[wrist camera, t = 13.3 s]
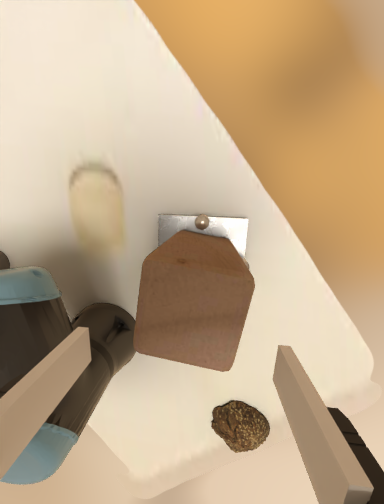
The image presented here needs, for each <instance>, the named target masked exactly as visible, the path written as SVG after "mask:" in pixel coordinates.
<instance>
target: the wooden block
mask: <svg viewBox="0 0 384 504" xmlns="http://www.w3.org/2000/svg"><path fill="white" fill-rule="evenodd" d="M254 288H255V283H254V278H253V276H252V274H251V273H250V271H249V269H248V268H247V266H246V265H245V263H244V261H243V260H242V258H241V256H240V255H239V253H238V251H237V250H236V248H235V247H234V245H233V243H232V242H231V241H230V240H229V239H226V238H221V237H216V236H210V235H205V234H200V233H195V232H190V231H184V230H182V231H178V232H177V233H176V234H174V235H173V236H172V237H171V238H169V239H168V240H167V241H166V242H164V243H163V244H162V245H161V246H159V247H158V248H157V249H156V250H154V251H153V252H152V253H151V254H149V255H148V256H147V257H146V259H145V260H144V262H143V264H142V272H141V281H140V289H139V297H138V305H137V313H136V321H135V330H134V338H133V346H134V350H136V351H137V352H139V353H141V354H145V355H150V356H154V357H159V358H163V359H168V360H172V361H177V362H181V363H186V364H190V365H195V366H199V367H204V368H208V369H213V370H217V371H222V372H224V371H229V370H230V369H231V367H232V365H233V363H234V359H235V356H236V352H237V349H238V345H239V342H240V338H241V334H242V331H243V327H244V324H245V320H246V316H247V313H248V309H249V306H250V302H251V299H252V295H253V291H254Z"/></svg>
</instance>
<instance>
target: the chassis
mask: <svg viewBox="0 0 384 504" xmlns="http://www.w3.org/2000/svg"><path fill="white" fill-rule="evenodd" d="M248 220H249V219H247V218H229V217H209V216H206V215H204V214H201V215H199V216H189V215H168V214H159V246H161V245H162V244H163V243H164V242H166V241H167V240H168V239H169V238H171V237H172V236H173V235H174V234H176V233H177V232H178V231H182V230H184V231H190V232H195V233H200V234H205V235H210V236H216V237H221V238H226V239H229V240H230V241H231V242H232V243H233V245H234V247H235V248H236V250H237V251H238V253H239V255H240V256H241V258H242V260H243V261H244V263H245V265H246V266H247V268H248V269H249V264H248V263H247V261H246V260H245V258H244V256H245V247H246V238H247V229H248Z"/></svg>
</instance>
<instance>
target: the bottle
mask: <svg viewBox="0 0 384 504" xmlns="http://www.w3.org/2000/svg"><path fill="white" fill-rule="evenodd" d="M9 266H10V264H9V260H8V258H7V257H6V256H5V254H4V253H2V252H1V251H0V270H4V269H9Z"/></svg>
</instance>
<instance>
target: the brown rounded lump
mask: <svg viewBox="0 0 384 504" xmlns="http://www.w3.org/2000/svg"><path fill="white" fill-rule="evenodd" d="M213 418H214V420H213V421H212V426H211V427H212V429H214V431H215V432H216V434H218V435H219V436H220V437H221V438H223V439H224V441H225V442H226V444H227V445H228V446H229V447H230V449H231V450H233V451H234V452H235V453H238V452H242V451H243V452H245V451H248V450H254V449H257V447H259V446H260V444H263V442H264V441H266V437H268V435H269V431H270V426H269V423H268V421H267V420H266V418H265V417H264V415H263V414H261V413H260V412H258V411H257V410H256V409H255V408H254V407H250V406H248V405H246V404H245V403H243V402H241V401H232V402H230V403H229V404H227V405H226V406H223V407H219V406H218V407H216V408H214V410H213Z"/></svg>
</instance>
